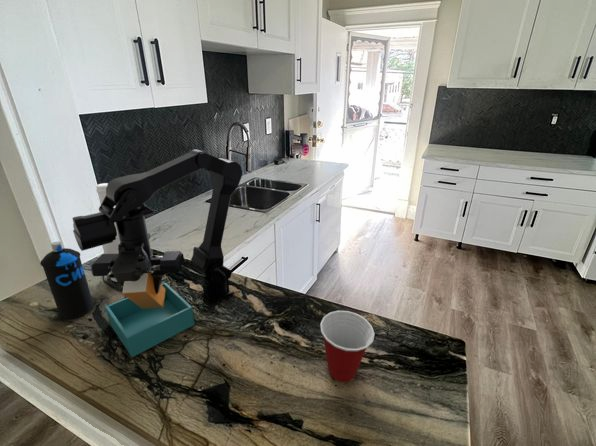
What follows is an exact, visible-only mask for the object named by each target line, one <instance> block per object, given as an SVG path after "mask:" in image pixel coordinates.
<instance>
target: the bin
mask: <svg viewBox="0 0 596 446" xmlns="http://www.w3.org/2000/svg"><path fill="white" fill-rule="evenodd" d="M161 285H162V286H163V287H164V288H165V298H164V308H155V309H142V308H141V307H139V306H138V305H137V304H135V303H134V302H133V301H131V300H130V299H129V298H127V297H125V298H123V299H120V300H118V301H115V302H113V303H110V304H108V305H105V306H104V309H105V311H106V315H107V319H108V322H109V325H110V327H111V328H112V330H113V331H114V332H115V334H116V335H117V337H118V338H119V340H120V342H121V343H122V345H123V346H124V348H125V350H126V351H127V352H128V354H129V355H130V357H131V358H134V357H137V356H138V355H139V354H140V355H141V354H142V353H144V352H145V351H147V350H149V349H151V348H154V347H155V346H157V345H160V344H161V343H163V342H165V341H166V340H168V339H170V338H172V337H174V336H176V335H178V334H179V333H182V332H183V331H186V330H188V329H189V328H191V327H194V326H195V318H194V310H193V306H191V304H189V303H188V301H186V300H185V299H184V298H183V297H182V296H181V295H180V294H178V293H177V292H176V290H174V288H172V287H171V285H169V284H168V283H166V282H162V283H161Z"/></svg>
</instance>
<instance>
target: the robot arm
mask: <svg viewBox="0 0 596 446" xmlns="http://www.w3.org/2000/svg"><path fill="white" fill-rule="evenodd" d="M201 169H203V170H204V171H207V172H208V173H209V182H210V185H211V191H212V193H211V198H210V204H209V209H208V212H207V213H208V214H207V219H206V225H205V228H204V229H205V230H204V235H203V239H202V243H201V244H200V245H199V246H194V247H193V248H192V249H193V250H192V251H193V252H192V256H191V259H190V262H192V267H193V268H194V270H196V271H198V272H199V273H200V274H202V275H203V277H202V280H203V282H202V290H201V291H202V295H204V296H205V297H206V299H209V300H210V301H211V302H212V303H216V302H219V300H222V299H224V298H226V297H228V296H230V295H232V294H233V291H232V290H231V289H230V283H229V280H230V279H232V278H231V277H232V273H233V271H232V270H231V269H230V268H228V267H226V265H224V262H225V261H224V260H225V259H224V258H225V257H224V252H223V248H222V242H223V238H224V233H225V228H226V222H227V218H228V213H229V208H230V203H231V199H232V197H231V196H233V194H234V192H235V191H236V190H237V189H238V188H239V186H240V182H241V180H242V178H243V168H242V166H241V164H240V163H238V162H237V161H234V160H229V159H227V158H224V157H216V156H213V155H211V154H209V153H208V152H206V151H204V150H200V149H192V150H190V151H189V152H187V153H185V154H183V155H180V156H179V157H176V158H174V159H172V160H169V161H167V162H165V163H163V164H161V165H159V166H157V167H155V168H152V169H150V170H147V171H144V172H141V173H133V174H127V175H124V176H120V177H116V178H113V179H112V180H110V181H109V182H107V183H108V184H107V188H106V196H105V198H104V200H103V202H102V204H100V206H99V207H98V212H99V211H100V213H98V212H96V213H90V214H86V215H78V216H73V217H72V219H71V220H72V222H73V224H72V227H73V230H72V233H73V235H74V239H75V241H76V243H77V245H78V248H79V249H80V251H82V252H84V251H86V250H90V249H94V248H97V247H101V246H102V245H105V244H108V243H112V242H113V240H116V236H117V231H118V235H119V239H120V244H119V245H118V250H119V253H118V254H104V253H102V254H101V255H100V256H99V257H98V258H97V259H96V260H95V261H94V262H93V263H92V264H91V267H90V270H91V271H90V272H91V275H92V276H93V277H107V276H108V277H109V278H110V279H111V278H116V280H117V281H118V282H117V283H122V284H124V281H132V282H133V281H137V280H139V279H140V277H141V276H142V275H143V274H144V273H149V272H150V270H151V267H153V271H152V273H151V276H152V277H153V278H154V287H155V292H156V294H158V292H159V289H160V285H161V284H162V281H163V276H166V274H172V273H177V272H178V273H179V272H180V270H181V268H182V266H183V263H184V261H185V256H184V253H183V252H182V251H181V250H172V251H169V250H168V251H167V250H166V251H165V252H164V254H162V255H158V256H156V257H153V255H154V249H153V248H151V243H150V239H151V238H152V237H151V234H150V233H148V229H147V223H146V217H145V216H148V215H151V214H154V213H155V210H154V209H152V208H151V207H149V206H148V205H146V204H145V203H146V202H148V201H149V200H150V199H151V198H152V197H153V196H154V194H155V193H156V192H158V191H160V190H161V189H163V188H165V187H167V186H169V185H171V184H173V183H175V182H178V181H179V180H182V178H185V177H187V176H190V175H191V174H193V173H195V172H198V171H199V170H201ZM114 206H115V208H113V207H114ZM114 222H116V226H117V231H116V227H115V224H114ZM109 272H110V275H109Z"/></svg>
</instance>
